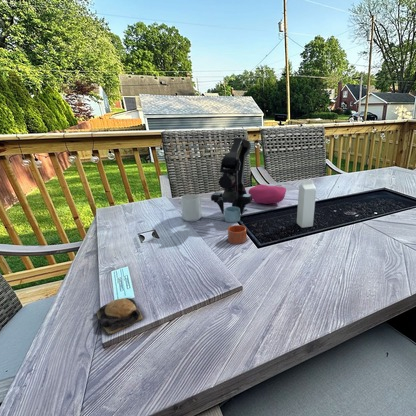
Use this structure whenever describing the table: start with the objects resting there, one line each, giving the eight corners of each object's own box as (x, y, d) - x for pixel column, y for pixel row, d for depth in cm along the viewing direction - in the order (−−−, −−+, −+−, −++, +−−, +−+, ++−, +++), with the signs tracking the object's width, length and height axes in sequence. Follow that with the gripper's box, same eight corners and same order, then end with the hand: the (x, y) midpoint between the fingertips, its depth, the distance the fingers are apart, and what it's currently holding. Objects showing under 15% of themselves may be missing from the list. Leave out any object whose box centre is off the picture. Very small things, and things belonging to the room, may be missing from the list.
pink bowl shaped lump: (244, 200, 157) (243, 184, 154) (266, 194, 170) (266, 179, 167) (270, 210, 143) (271, 193, 140) (293, 203, 156) (293, 187, 153)
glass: (231, 215, 133) (231, 205, 131) (243, 218, 130) (243, 208, 128) (221, 220, 127) (221, 209, 125) (233, 223, 124) (233, 212, 122)
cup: (236, 234, 113) (235, 223, 111) (249, 238, 110) (249, 227, 108) (224, 240, 107) (223, 229, 105) (238, 245, 103) (238, 234, 102)
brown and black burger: (94, 313, 66) (91, 301, 65) (130, 298, 72) (128, 287, 71) (106, 337, 59) (102, 324, 58) (145, 318, 65) (143, 306, 64)
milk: (313, 226, 125) (317, 181, 118) (301, 228, 123) (305, 182, 115) (307, 221, 130) (310, 178, 123) (296, 223, 128) (299, 179, 120)
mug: (203, 220, 125) (201, 198, 121) (183, 223, 121) (181, 200, 118) (199, 212, 135) (198, 191, 131) (181, 214, 132) (179, 193, 128)
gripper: (205, 186, 115) (207, 219, 121) (247, 189, 114) (247, 221, 120) (214, 180, 126) (215, 210, 131) (252, 182, 125) (252, 213, 130)
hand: (232, 214), depth 128 cm, fingers open, 9 cm apart
